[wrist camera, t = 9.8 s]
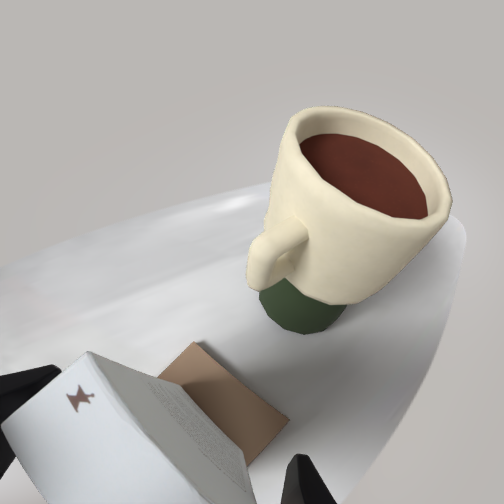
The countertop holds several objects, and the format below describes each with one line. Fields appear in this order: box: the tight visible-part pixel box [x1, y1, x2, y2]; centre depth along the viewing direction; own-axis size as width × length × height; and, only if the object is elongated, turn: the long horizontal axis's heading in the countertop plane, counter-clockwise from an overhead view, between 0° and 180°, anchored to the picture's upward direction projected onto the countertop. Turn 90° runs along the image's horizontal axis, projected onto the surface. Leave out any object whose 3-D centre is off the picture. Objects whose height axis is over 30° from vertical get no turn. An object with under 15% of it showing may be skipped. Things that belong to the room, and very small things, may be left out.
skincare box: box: [1, 351, 257, 504], centre depth 8 cm, size 6×4×12 cm
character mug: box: [246, 106, 453, 335], centre depth 14 cm, size 11×7×13 cm, turn 126°
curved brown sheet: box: [157, 341, 290, 467], centre depth 14 cm, size 10×8×1 cm
